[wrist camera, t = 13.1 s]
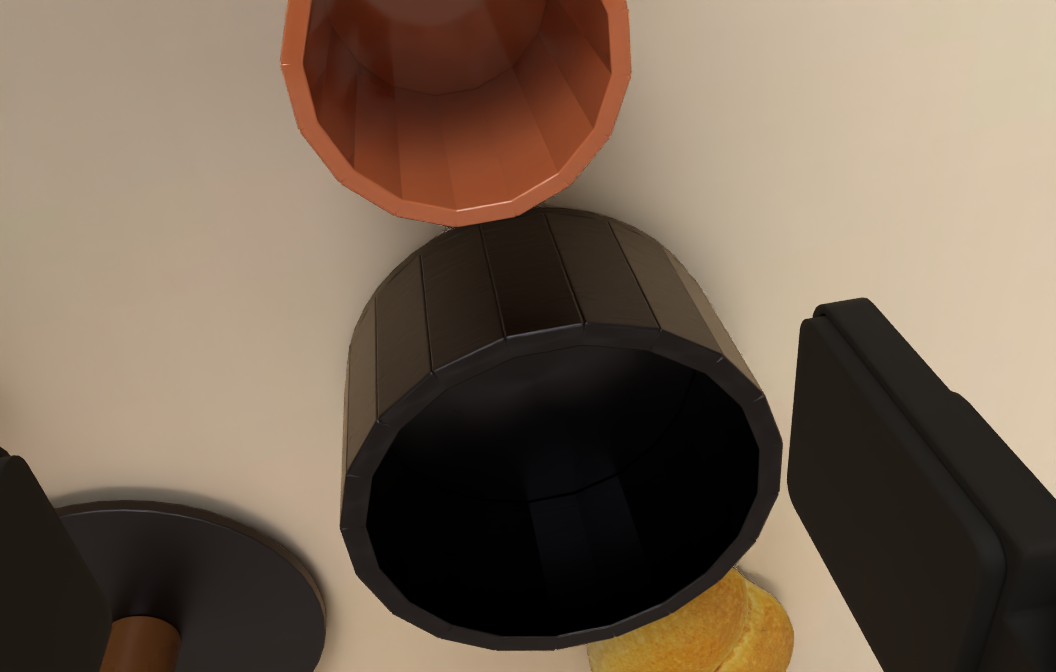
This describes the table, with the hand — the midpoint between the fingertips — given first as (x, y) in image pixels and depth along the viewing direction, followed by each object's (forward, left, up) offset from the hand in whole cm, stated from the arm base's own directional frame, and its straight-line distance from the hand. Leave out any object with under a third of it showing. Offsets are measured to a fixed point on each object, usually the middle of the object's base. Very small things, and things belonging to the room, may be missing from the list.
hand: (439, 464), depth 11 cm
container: (-2, +1, -16) cm, 16 cm away
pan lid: (+19, -14, -15) cm, 28 cm away
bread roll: (+26, +7, -16) cm, 31 cm away
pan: (+11, +2, -16) cm, 19 cm away
